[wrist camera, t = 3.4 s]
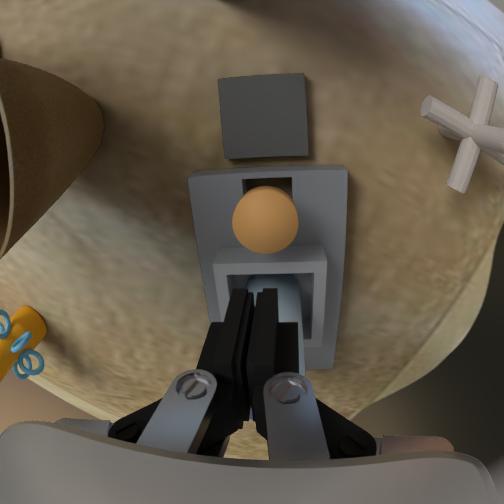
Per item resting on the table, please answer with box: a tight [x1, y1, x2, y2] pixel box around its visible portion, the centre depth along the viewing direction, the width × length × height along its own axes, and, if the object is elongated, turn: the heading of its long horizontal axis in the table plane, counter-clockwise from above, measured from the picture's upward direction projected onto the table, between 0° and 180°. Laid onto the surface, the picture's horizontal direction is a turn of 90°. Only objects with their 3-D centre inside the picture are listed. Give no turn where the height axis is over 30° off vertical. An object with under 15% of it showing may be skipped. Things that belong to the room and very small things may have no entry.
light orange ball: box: [232, 186, 298, 254], centre depth 23 cm, size 4×4×4 cm
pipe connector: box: [420, 76, 504, 194], centre depth 18 cm, size 10×10×10 cm
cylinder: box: [0, 306, 47, 382], centre depth 32 cm, size 12×10×15 cm
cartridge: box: [246, 273, 305, 420], centre depth 23 cm, size 5×5×13 cm
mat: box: [218, 73, 309, 159], centre depth 24 cm, size 7×7×1 cm
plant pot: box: [0, 58, 104, 259], centre depth 19 cm, size 15×15×16 cm
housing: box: [187, 165, 348, 370], centre depth 29 cm, size 22×13×6 cm, turn 4°
